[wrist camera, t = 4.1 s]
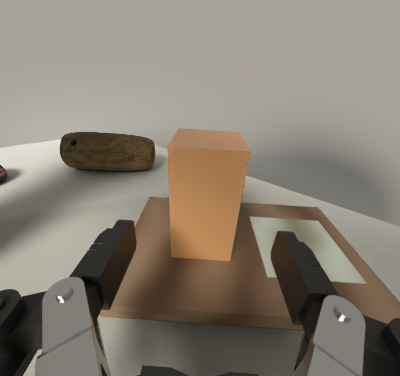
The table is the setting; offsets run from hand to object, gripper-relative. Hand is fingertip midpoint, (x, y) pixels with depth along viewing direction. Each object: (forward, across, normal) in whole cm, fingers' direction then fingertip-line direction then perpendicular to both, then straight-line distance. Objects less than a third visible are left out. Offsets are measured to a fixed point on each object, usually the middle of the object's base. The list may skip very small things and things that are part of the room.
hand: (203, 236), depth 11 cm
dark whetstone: (+25, +17, +8) cm, 31 cm away
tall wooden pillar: (+6, 0, +6) cm, 9 cm away
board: (+6, -4, +8) cm, 11 cm away
